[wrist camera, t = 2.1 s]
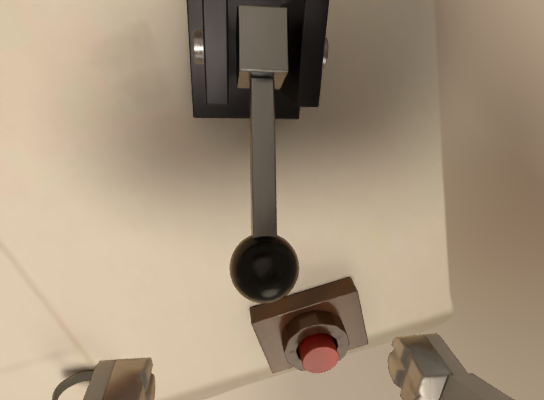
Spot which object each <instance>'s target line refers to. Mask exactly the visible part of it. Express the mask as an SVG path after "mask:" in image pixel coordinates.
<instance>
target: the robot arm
mask: <svg viewBox="0 0 544 400" xmlns="http://www.w3.org/2000/svg"><path fill="white" fill-rule="evenodd" d="M392 346H393V348H394V350H393V351H392V352H391V353H390V354H389V357H388V369H389V373H390V376H391V378H392V380H393V382H394V384H396V385H397V386H398V387H400V388H401V395H400V396H401V398H402V400H514V399H512V398H511V397H509V396H507V395H506V394H504V393H503V392H501V391H500V390H498V389H496V388H494V387H493V386H492V385H490V384H488V383H487V382H485V381H484V380H482V379H481V378H479V377H477V376H476V375H474V374H473V373H468V372H466V370H465V369H464V367H463V366H462V365H461V363H460V362H459V360H458V359H457V358H456V357H455V355H454V354H453V353H452V351H451V350H450V348H449V347H448V346H447V344H446V343H445V342H444V340H443V339H442V338H441V337H440V336H439V335H438V334H437V333H436V334H425V335H421V334H420V335H410V336H400V337H395V338H394V339H393V342H392ZM152 366H153V364H152V359H151V358H134V359H117V360H103V361H99V363H98V364H97V365H96V367H95V370H94V373H93V375H92V378H91V380H90V383H89V385H88V388H87V391H86V393H85V396H84V398H83V400H154V397H155V377H154V374H152V373H151V371H152Z"/></svg>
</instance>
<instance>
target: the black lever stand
mask: <svg viewBox="0 0 544 400" xmlns="http://www.w3.org/2000/svg"><path fill="white" fill-rule="evenodd" d="M238 5H255V6H271V7H287V8H288V20H289V73H288V75H287V77H286V79H285V81H284V83H283V85H282V87H281V89H275V119H299V111H300V107H318V106H319V96H320V86H321V76H322V69H323V68H324V67H325V65H326V62H327V57H328V40H327V38H326V37H325V36H326V26H327V16H328V6H329V0H187V14H188V32H189V49H190V67H191V84H192V101H193V117H194V118H249V88H237V84H236V17H237V6H238Z"/></svg>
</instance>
